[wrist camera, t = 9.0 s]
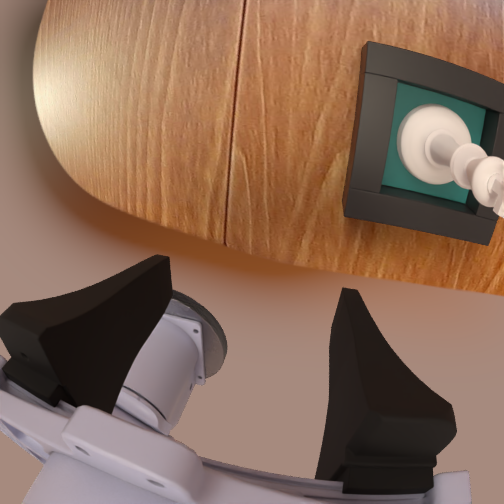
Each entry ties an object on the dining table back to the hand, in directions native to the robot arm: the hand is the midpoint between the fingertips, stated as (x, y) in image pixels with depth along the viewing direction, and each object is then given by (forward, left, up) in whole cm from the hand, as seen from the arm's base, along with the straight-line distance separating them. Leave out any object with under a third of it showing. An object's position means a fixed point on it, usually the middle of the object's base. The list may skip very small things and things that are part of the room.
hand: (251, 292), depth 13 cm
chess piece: (+6, -9, -9) cm, 14 cm away
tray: (+6, -9, -10) cm, 15 cm away
